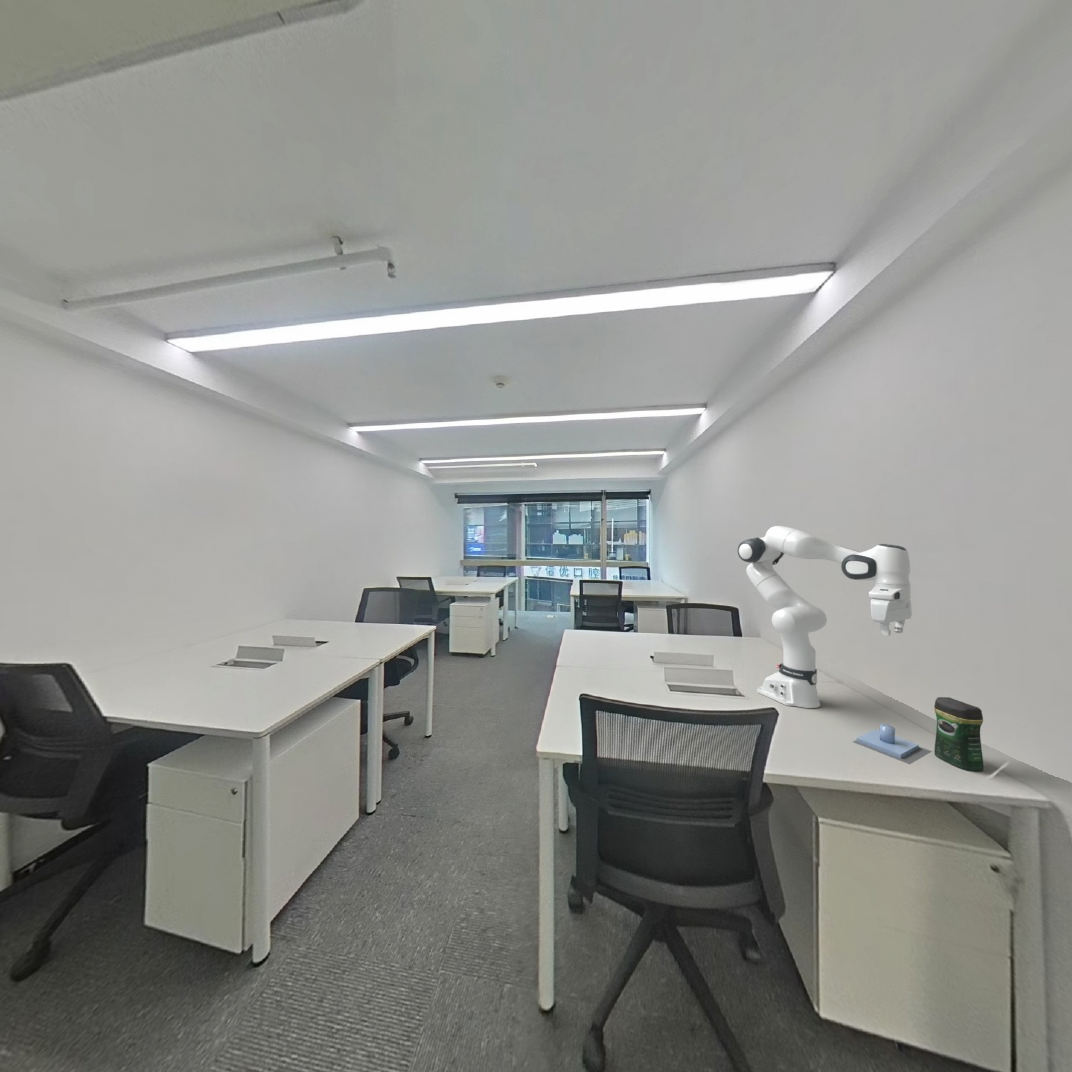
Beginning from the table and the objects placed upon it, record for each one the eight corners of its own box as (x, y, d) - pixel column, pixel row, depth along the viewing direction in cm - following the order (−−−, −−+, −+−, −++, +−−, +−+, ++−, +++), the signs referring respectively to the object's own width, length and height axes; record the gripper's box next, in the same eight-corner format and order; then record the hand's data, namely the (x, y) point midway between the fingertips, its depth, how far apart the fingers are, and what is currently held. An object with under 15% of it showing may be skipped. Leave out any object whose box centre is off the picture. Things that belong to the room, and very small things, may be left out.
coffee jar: (990, 773, 110) (990, 708, 110) (964, 773, 109) (964, 708, 109) (952, 754, 119) (952, 694, 119) (928, 754, 119) (928, 694, 119)
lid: (856, 741, 125) (856, 723, 125) (875, 732, 131) (875, 715, 131) (900, 758, 116) (900, 739, 116) (918, 748, 121) (918, 729, 122)
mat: (852, 743, 125) (852, 741, 125) (875, 732, 132) (875, 731, 132) (909, 765, 113) (909, 764, 113) (931, 752, 120) (931, 751, 120)
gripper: (893, 590, 136) (894, 629, 136) (866, 592, 127) (866, 635, 126) (917, 592, 131) (918, 632, 130) (890, 595, 121) (891, 639, 121)
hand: (892, 634), depth 128 cm, fingers open, 8 cm apart
